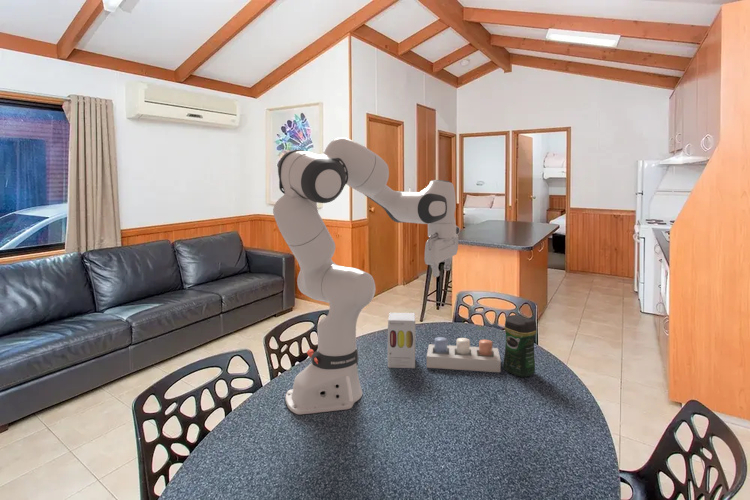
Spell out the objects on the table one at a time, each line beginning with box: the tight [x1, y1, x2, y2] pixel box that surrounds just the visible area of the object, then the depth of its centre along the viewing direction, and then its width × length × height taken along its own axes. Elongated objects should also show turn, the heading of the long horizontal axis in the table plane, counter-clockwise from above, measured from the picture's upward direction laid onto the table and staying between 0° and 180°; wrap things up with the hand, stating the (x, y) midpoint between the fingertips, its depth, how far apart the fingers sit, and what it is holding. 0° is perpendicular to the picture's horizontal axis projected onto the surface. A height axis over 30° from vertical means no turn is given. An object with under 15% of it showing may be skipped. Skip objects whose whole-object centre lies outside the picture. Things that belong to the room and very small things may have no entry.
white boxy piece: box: [426, 343, 502, 373], centre depth 150 cm, size 24×11×4 cm, turn 79°
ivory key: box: [456, 337, 471, 354], centre depth 150 cm, size 4×4×4 cm
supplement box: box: [387, 312, 416, 369], centre depth 151 cm, size 10×9×17 cm
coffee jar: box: [502, 314, 538, 378], centre depth 142 cm, size 10×8×19 cm
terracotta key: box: [478, 339, 494, 356], centre depth 148 cm, size 4×4×4 cm
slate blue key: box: [433, 336, 448, 353], centre depth 151 cm, size 4×4×4 cm
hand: (441, 273), depth 143 cm, fingers open, 8 cm apart
